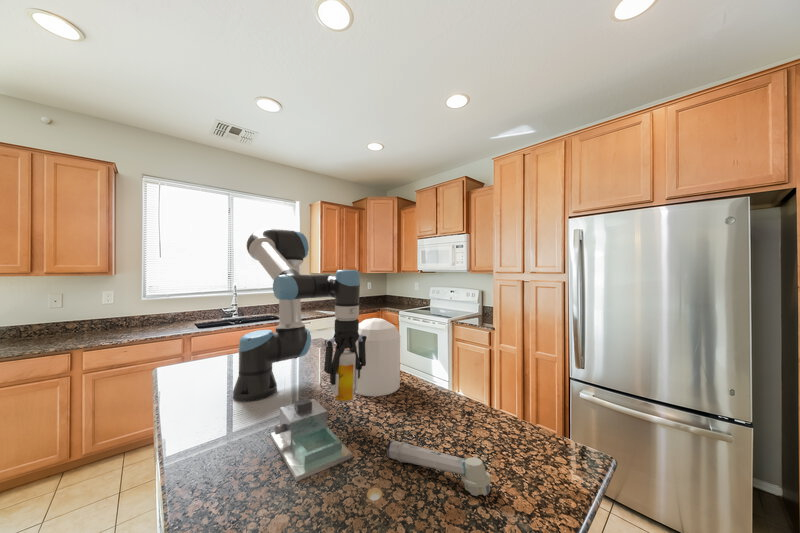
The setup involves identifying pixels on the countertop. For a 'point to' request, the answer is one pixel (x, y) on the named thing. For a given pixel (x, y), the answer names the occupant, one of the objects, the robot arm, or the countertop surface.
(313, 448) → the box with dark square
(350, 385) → the soda can
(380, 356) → the container
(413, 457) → the toothbrush head
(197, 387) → the countertop surface
